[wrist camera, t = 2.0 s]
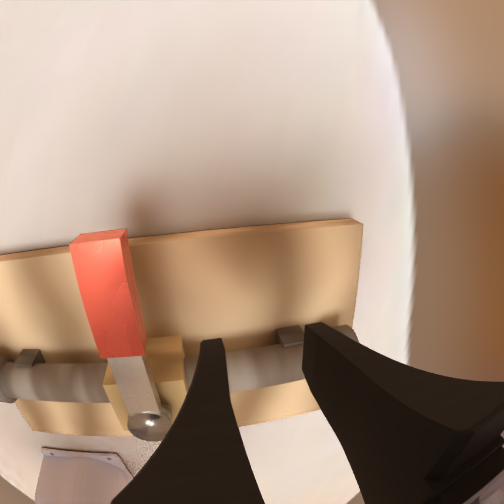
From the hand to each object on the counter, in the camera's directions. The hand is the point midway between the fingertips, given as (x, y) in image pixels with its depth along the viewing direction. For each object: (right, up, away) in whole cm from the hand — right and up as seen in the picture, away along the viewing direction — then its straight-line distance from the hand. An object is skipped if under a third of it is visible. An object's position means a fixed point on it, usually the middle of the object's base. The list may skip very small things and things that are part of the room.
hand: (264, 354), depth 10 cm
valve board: (-7, -3, +10) cm, 12 cm away
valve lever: (-6, -1, +3) cm, 7 cm away
